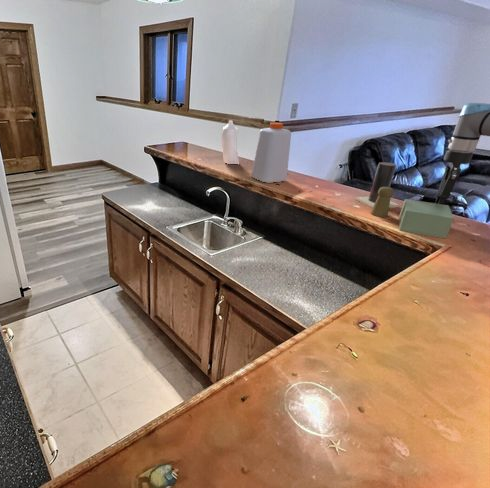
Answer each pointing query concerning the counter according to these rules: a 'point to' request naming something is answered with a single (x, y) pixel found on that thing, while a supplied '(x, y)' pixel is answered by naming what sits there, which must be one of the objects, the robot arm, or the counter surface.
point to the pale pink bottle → (230, 143)
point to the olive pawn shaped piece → (382, 202)
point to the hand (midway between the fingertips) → (435, 213)
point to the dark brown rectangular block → (382, 179)
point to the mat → (371, 204)
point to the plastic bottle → (272, 154)
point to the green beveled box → (425, 218)
